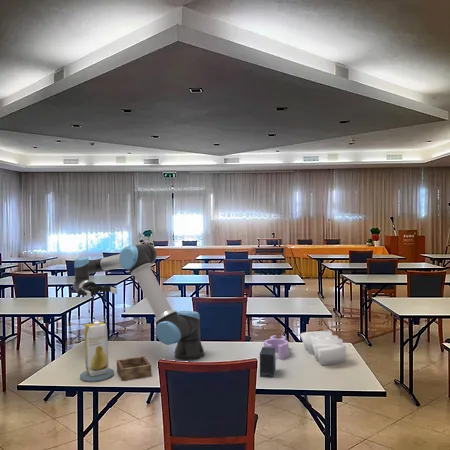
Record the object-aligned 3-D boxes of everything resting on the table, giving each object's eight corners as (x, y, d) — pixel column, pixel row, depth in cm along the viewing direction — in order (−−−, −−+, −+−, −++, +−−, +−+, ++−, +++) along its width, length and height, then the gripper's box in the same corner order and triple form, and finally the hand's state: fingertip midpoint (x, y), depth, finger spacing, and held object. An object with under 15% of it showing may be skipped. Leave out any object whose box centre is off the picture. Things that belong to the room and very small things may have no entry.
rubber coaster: (111, 368, 214) (111, 365, 214) (116, 378, 200) (116, 376, 200) (79, 373, 208) (79, 370, 208) (81, 384, 194) (81, 381, 194)
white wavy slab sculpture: (350, 367, 206) (350, 345, 206) (316, 369, 205) (315, 346, 205) (328, 345, 241) (328, 326, 241) (298, 346, 240) (298, 327, 240)
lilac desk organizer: (267, 347, 241) (267, 334, 241) (290, 348, 238) (290, 335, 238) (262, 359, 221) (261, 345, 221) (287, 360, 219) (287, 346, 218)
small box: (274, 377, 196) (273, 354, 196) (259, 377, 197) (259, 353, 197) (276, 369, 206) (275, 347, 206) (262, 368, 208) (261, 346, 207)
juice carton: (89, 378, 198) (87, 324, 198) (84, 373, 205) (82, 321, 204) (110, 373, 203) (108, 321, 203) (104, 368, 210) (102, 318, 209)
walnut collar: (145, 366, 215) (144, 356, 215) (151, 376, 202) (151, 365, 202) (116, 370, 210) (116, 360, 210) (121, 380, 197) (121, 369, 197)
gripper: (110, 292, 246) (126, 297, 229) (65, 298, 231) (78, 304, 214) (110, 278, 246) (126, 282, 229) (64, 283, 231) (78, 288, 214)
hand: (103, 293), depth 222 cm, fingers open, 13 cm apart
